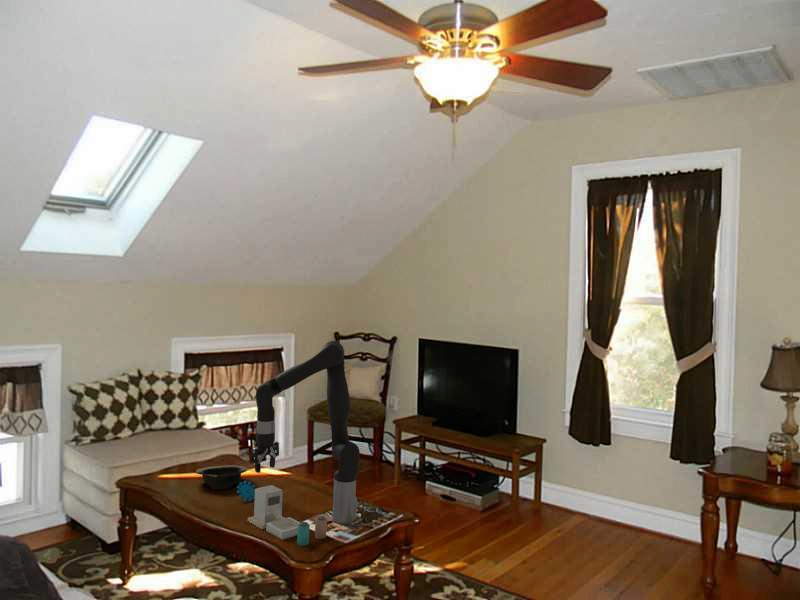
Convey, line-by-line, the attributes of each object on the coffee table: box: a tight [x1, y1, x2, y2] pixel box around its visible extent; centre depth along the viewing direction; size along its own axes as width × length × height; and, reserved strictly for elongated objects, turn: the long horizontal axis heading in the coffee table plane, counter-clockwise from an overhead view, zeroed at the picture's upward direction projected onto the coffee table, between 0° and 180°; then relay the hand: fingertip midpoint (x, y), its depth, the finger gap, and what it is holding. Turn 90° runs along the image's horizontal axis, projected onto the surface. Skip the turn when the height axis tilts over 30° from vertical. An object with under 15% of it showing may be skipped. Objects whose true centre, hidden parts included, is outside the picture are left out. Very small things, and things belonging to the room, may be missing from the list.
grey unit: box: [247, 484, 286, 530], centre depth 269 cm, size 12×11×14 cm
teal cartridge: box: [296, 521, 310, 547], centre depth 249 cm, size 4×4×8 cm
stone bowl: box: [195, 464, 250, 491], centre depth 314 cm, size 25×25×9 cm
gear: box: [236, 480, 256, 502], centre depth 296 cm, size 11×6×10 cm
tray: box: [265, 517, 301, 541], centre depth 260 cm, size 11×11×3 cm
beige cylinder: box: [314, 515, 328, 540], centre depth 256 cm, size 4×4×8 cm
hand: (265, 469), depth 271 cm, fingers open, 8 cm apart
